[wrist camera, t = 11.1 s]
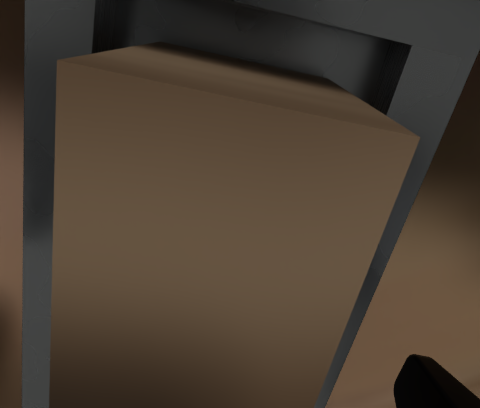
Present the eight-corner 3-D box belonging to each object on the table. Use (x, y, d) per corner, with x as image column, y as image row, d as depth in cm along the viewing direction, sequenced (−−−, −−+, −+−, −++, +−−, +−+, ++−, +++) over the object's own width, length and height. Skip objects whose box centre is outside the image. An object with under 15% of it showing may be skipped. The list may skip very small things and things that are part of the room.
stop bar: (235, 406, 13) (228, 622, 8) (119, 387, 12) (44, 600, 8) (327, 78, 9) (420, 136, 4) (159, 41, 8) (57, 60, 4)
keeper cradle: (280, 451, 14) (284, 501, 13) (46, 413, 13) (21, 460, 12) (460, -6, 8) (506, -13, 7) (67, -109, 8) (25, -141, 6)
